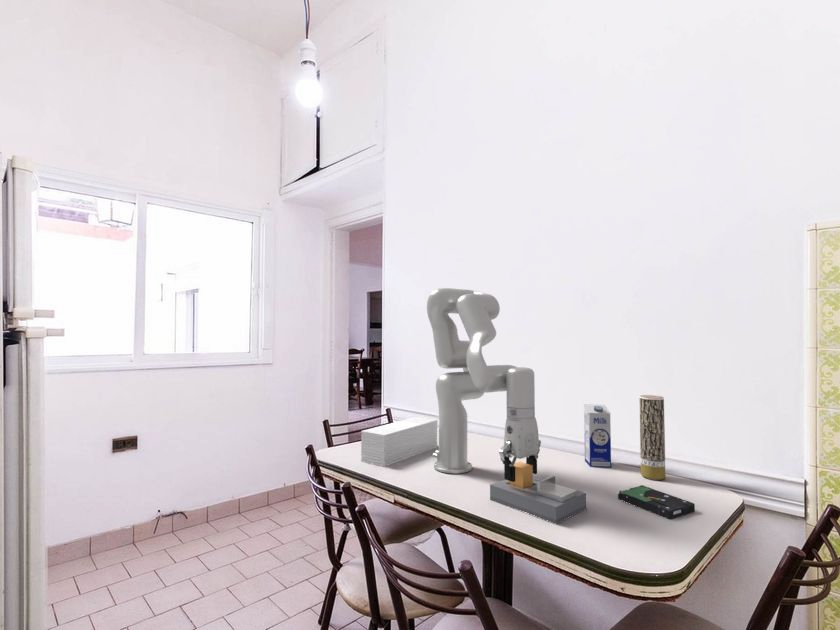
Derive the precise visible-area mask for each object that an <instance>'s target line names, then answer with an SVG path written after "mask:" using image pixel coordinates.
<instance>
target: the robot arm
mask: <svg viewBox="0 0 840 630" xmlns="http://www.w3.org/2000/svg"><path fill="white" fill-rule="evenodd" d="M500 310H501V309H500V304H499V301H498V299H497V298H496V297H495V296H494V295H492V294H490V293H484V292H480V291H478V290H473V289H463V288H450V287H449V288H448V287H447V288H443V287H441V288H437V289H434V290H432V291H431V292H430V294H429V296H428V298H427V301H426V314H427V317H428V320H429V323H430V326H431V329H432V335H433V337H432V338H433V343H434V349H435V350H434V351H435V358H436V362H437V365H438V366H439V367H440V368H443V369H446V370H447V369H450V370H451V369H462V370H463V371H452V372H451V371H450V372H445V373H443V374H440V375H439V377H438V378H437V379H436V382H435V393H436V397H437V405H438V449H436V450H435V452H433V453H432V457H433V458H435V459H436V461H435V463H434V464H433V467H434V469H435V470H436V471H438V472H440V473H445V474H465V473H467V472H468V473H469V472H470V471H472V470H473V464H472V463H471V462H470V461H469V460H468V413H467V409H466V408H465V406H464V404H463V403H462V401H463V402H464V401H468V400H476V399H480V398H482V396H484V394H485V393H496V392H506V420H505V425H504V436H503V437H504V438H503V439H504V440H503V446H502V447H501V448H499V450H498V453H499V456H500V461H502V464H503V465H504V468H503V470H504V473H503V474H504V478H503V479H504V480H508V481H512V482H515V466H514V463H516V462H517V459H519V460H520V459H525V461H526V462H525V463H526V464H530V465H533V475H537V474H538V459H539V454H540V448H541V444H542V440H540V439H539V438H540V437H539V436H540V435H539V428H538V422H537V418H536V416H535V415H536V407H535V406H536V405H535V401H536V400H535V394H536V393H535V391H536V390H535V372H534V371H535V370H533V369H532V368H531V367H517V366H515V365H512V364H511V365H510V364H497V365H494V364H493V365H492V364H491V365H487V363H486V361H485V358H484V356H483V351H482V348H483V347H484V346H487V345H488V344H489V343H491V342H492V341H494V340H495V338H496V336H497V329H496V328H495V326H494V324H493V322H492V320H495V319H496V318H498V316H499V314H500ZM449 314H458V315H459V318H460V320H461V323H462V324H463V328H464V330H465V332H466V335H467V337H468V339H469V340H460V337H459V334H458V328H457V325H456V323H455V321H454V320H453V319H452V317H451V316H450V315H449ZM510 458H511V459H510Z"/></svg>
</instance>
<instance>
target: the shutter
mask: <svg viewBox="0 0 840 630" xmlns="http://www.w3.org/2000/svg"><path fill="white" fill-rule="evenodd" d="M577 490H578V489H575V490H574V488H570V487H568V488H567V486H564V485H560V484H558V485H557V483H556V476H555V475H549V476H548V477H545V478H543V479H541V480H539V481H537V494H538V495H542V496H545V497H548V498H551V499H554V500H557V501H560V502H564V501H566V500H568V499H570V498H573V497H575V496H577Z"/></svg>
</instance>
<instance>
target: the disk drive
mask: <svg viewBox="0 0 840 630" xmlns="http://www.w3.org/2000/svg"><path fill="white" fill-rule="evenodd" d="M619 499H620V500H619ZM617 500H619V501H621V500H623V501H622V502H624V501H625V502H624V503H626V502H627V504H629V503H630V504H629V505H631V504H632V506H634V505H635V507H637V508H639V507H640V509H642V510H644V509H645V511H647V512H649V511H650V513H652V514H655V515H657V516H659V517H662V518H665V519H668V520H673V519H676V518H680V517H683V516H687V515H690V514H693V513H695V512H696V511H695V505H696V504H695V503H694V502H692V501H689V500H687V499H683V498H680V497H677V496H674V495H672V494H668V493H665V492H663V491H660V490H656V489H654V488H651V487H648V486H645V485H639V486H638V485H637V486H634V487H633V486H632V487H630V488H628V489H625V490H624V489H623V490H619V492H618V493H617Z"/></svg>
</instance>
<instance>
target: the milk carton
mask: <svg viewBox="0 0 840 630" xmlns="http://www.w3.org/2000/svg"><path fill="white" fill-rule="evenodd" d="M583 407H584V409H583V411H584V412H583V413H584V414H583V415H584V425H583V427H584V462H585V463H586V464H587V465H588V466H589V467H590V468H591V467H592V468H612V446H611V444H612V442H611V440H612V439H611V438H612V436H611V435H612V434H611V412H610V410H609V409H608V407H607V406H606V405H605V404H591V403H590V404H586V403H585V404H583Z"/></svg>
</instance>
